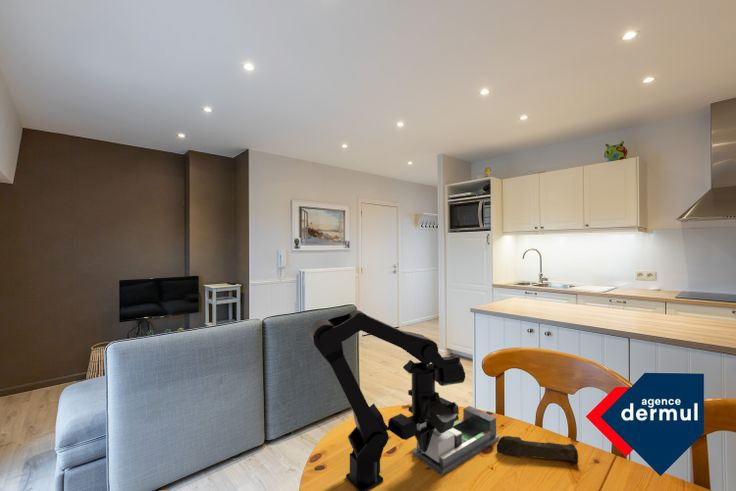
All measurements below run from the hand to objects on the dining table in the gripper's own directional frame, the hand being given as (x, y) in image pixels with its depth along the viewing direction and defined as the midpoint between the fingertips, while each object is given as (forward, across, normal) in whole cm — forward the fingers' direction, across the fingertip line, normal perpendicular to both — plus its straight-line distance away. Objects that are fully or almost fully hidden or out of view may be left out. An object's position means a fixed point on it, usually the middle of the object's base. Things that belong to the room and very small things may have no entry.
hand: (424, 451), depth 80 cm
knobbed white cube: (+2, +5, 0) cm, 5 cm away
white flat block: (+2, +10, 0) cm, 10 cm away
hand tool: (+4, +25, -15) cm, 30 cm away
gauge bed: (+4, +13, 0) cm, 13 cm away
